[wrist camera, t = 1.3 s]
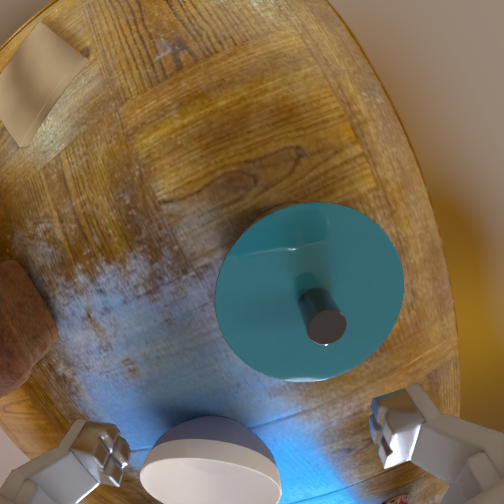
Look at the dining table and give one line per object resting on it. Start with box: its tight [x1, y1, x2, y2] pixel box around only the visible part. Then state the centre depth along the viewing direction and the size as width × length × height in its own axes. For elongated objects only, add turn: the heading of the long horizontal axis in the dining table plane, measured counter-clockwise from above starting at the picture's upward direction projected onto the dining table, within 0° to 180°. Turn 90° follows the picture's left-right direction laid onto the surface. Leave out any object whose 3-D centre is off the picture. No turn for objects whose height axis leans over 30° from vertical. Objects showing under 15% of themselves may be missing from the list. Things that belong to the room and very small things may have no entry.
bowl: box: [140, 416, 282, 504], centre depth 28 cm, size 16×16×10 cm
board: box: [0, 21, 89, 147], centre depth 22 cm, size 12×12×2 cm
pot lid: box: [215, 201, 404, 382], centre depth 18 cm, size 14×14×5 cm
